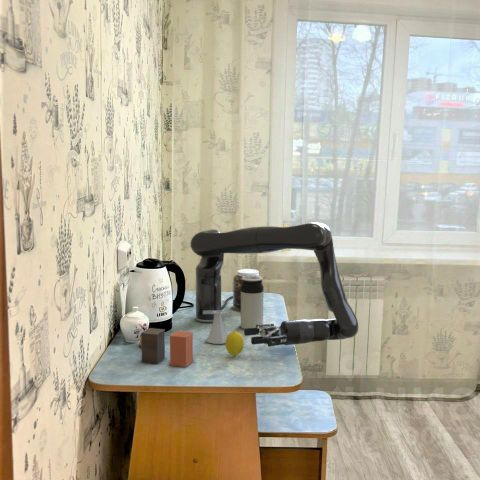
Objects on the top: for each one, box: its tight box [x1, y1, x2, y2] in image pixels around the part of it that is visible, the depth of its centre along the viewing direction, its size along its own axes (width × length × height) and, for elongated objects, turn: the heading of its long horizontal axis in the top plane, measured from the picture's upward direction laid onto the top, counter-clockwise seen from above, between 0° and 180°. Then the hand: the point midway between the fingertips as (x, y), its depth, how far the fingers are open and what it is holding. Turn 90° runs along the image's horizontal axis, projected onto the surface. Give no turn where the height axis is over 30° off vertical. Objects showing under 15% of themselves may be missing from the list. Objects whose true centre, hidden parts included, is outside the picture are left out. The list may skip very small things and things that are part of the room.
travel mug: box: [240, 275, 265, 330], centre depth 211 cm, size 8×8×18 cm
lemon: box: [225, 330, 245, 357], centre depth 182 cm, size 6×6×8 cm
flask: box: [206, 310, 228, 345], centre depth 195 cm, size 7×7×10 cm
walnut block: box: [140, 327, 166, 365], centre depth 177 cm, size 5×5×9 cm
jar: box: [232, 268, 264, 312], centre depth 235 cm, size 12×12×15 cm
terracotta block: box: [169, 330, 194, 368], centre depth 175 cm, size 5×5×9 cm
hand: (247, 336), depth 183 cm, fingers open, 8 cm apart
